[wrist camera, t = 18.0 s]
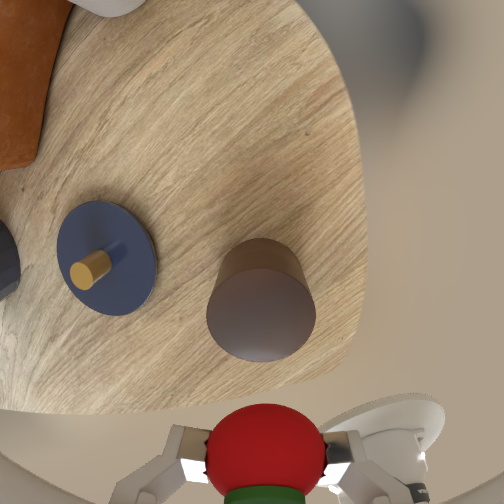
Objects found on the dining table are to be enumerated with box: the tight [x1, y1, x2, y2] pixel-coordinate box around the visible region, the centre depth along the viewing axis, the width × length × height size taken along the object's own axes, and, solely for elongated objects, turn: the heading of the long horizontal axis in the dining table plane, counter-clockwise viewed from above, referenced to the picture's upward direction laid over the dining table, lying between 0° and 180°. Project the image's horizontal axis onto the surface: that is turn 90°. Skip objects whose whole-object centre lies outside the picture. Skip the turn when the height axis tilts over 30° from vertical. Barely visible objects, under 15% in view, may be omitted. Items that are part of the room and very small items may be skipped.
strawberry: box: [206, 404, 325, 504], centre depth 8 cm, size 4×4×5 cm
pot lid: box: [57, 200, 157, 316], centre depth 22 cm, size 11×11×5 cm
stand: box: [206, 238, 316, 362], centre depth 21 cm, size 7×7×7 cm
